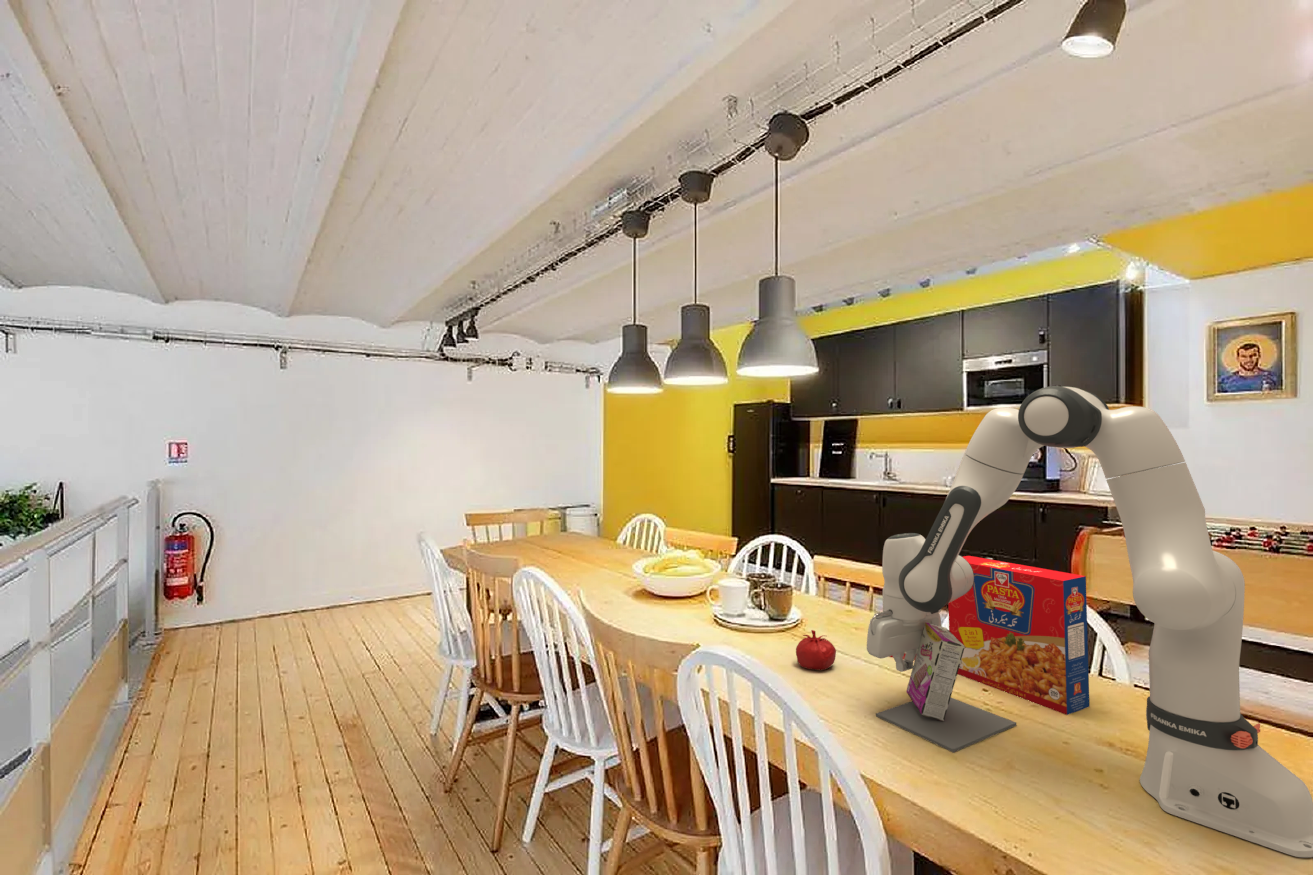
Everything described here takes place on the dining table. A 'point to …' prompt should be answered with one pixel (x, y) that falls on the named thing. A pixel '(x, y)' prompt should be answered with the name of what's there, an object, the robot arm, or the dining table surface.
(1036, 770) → the dining table surface
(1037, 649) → the pasta box
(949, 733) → the rubber mat
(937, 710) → the candy bar box
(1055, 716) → the dining table surface
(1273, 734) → the dining table surface
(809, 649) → the pomegranate
